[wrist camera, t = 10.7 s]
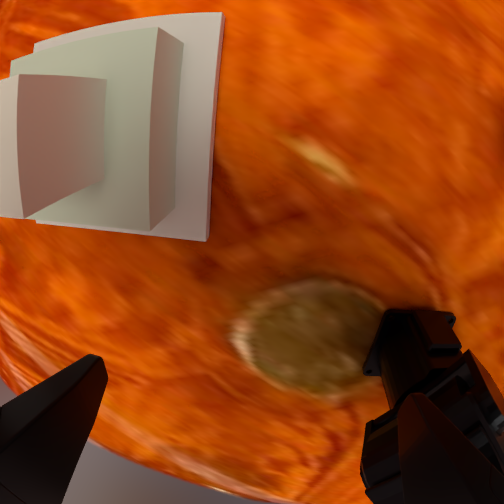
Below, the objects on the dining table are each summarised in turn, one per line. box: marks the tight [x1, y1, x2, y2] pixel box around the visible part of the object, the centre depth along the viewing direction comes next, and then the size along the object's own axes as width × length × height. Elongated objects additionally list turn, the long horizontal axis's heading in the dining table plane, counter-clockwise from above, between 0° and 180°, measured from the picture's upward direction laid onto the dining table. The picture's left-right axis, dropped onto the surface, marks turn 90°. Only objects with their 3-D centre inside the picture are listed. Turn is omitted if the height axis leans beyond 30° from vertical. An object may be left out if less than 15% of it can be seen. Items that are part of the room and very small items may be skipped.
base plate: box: [33, 12, 225, 242], centre depth 17 cm, size 14×14×1 cm
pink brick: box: [0, 74, 107, 219], centre depth 10 cm, size 5×5×6 cm
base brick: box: [10, 27, 184, 231], centre depth 15 cm, size 10×10×4 cm
